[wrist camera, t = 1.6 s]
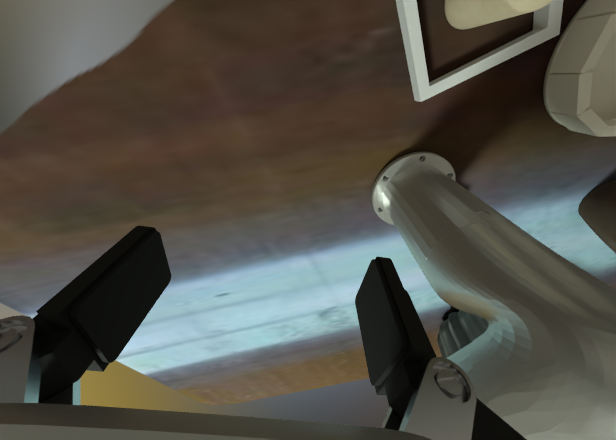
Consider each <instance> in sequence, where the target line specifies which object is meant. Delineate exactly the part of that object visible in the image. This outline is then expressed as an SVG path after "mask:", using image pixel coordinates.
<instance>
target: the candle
mask: <svg viewBox="0 0 616 440" xmlns="http://www.w3.org/2000/svg"><path fill="white" fill-rule="evenodd" d="M552 1H553V0H445V15H446V18H447V20H448V22H449V23H450V25H452V26H453V27H454V28H457V29H469V28H474V27H477V26H481V25H485V24H488V23H492V22H496V21H500V20H503V19H507V18H511V17H514V16H518V15H522V14H525V13H529V12H533V11H536V10H538V9H540V8H543V7H544V6H546V5H548V4H549V3H550V2H552Z"/></svg>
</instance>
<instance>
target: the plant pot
mask: <svg viewBox="0 0 616 440" xmlns="http://www.w3.org/2000/svg"><path fill="white" fill-rule="evenodd" d="M578 211H579V214H580V216H581V217H582V218H583V220H584V221H585V222H586V223H587V224H588V226H589V227H590V228H591V229H592V230H593V231H594V232H595V233H596V234H597V235H598V236H599V238H600V239H601V240H602V241H603V242H604V243H605V244H606V245H607V246H609V247H610V248H611V249H612V250H613V251H614V252H615V253H616V180H613V181H610V182H607V183H605V184H602V185H601V186H599V187H597V188H595V189H594V190H593V191H591V192H590V193H589V194H588V195H587V196H586V197H585V198H584V199H583V201H582V202H581V204H580V206H579V210H578Z"/></svg>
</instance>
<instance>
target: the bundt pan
mask: <svg viewBox="0 0 616 440" xmlns="http://www.w3.org/2000/svg"><path fill="white" fill-rule="evenodd" d="M487 328H488V322H487V321H486V320H485V319H484V318H481V317H478V316H475V315H472V314H469V313H466V312H463V311H461V310H459V312H451V313H450V314H449V316H448V319H447V320H445V321H444V322H443V323H442V324H441V326H440V332H439V334H438V345H439V348H440V351H441V354H442V357H443V358H447V357H449V356H450V355H452V354H454V353H455V352H457V351H459V350H460V349H462V348H464V347H465V346H467V345H469V344H470V343H472V342H473V340H475V339H476V338H478V337H479V336H481V335H482V334H483V333H485V331H486V330H487Z"/></svg>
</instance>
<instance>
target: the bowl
mask: <svg viewBox="0 0 616 440" xmlns="http://www.w3.org/2000/svg"><path fill="white" fill-rule="evenodd" d="M543 99H544V104H545V108H546V110H547V112H548V114H549V116H550V117H551V118H552V119H553V120H554V121H555V122H557V123H558V124H560V125H563V126H565V127H566V128H568V129H569V130H571V131H575V132H580V133H585V134H589V135H594V136H599V137H605V136H616V0H586V1H585V2H584V3H583V5H582V6H581V7H580V8H579V10H578V11H577V12H576V14H575V15H574V17H573V18H572V19H571V21H570V22H569V24H568V25H567V27H566V29H565V30H564V32H563V34H562V35H561V37H560V39H559V41H558V43H557V45H556V47H555V49H554V51H553V53H552V56H551V58H550V60H549V63H548V67H547V70H546V73H545V78H544V84H543Z"/></svg>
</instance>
